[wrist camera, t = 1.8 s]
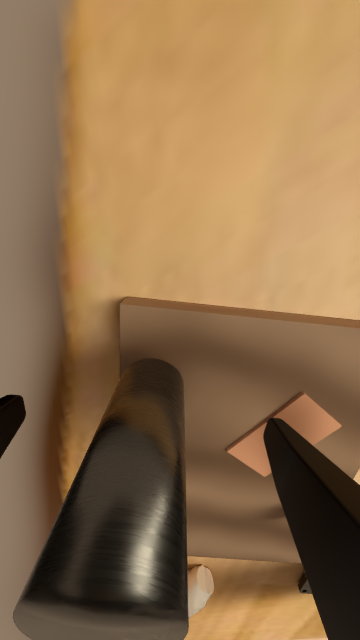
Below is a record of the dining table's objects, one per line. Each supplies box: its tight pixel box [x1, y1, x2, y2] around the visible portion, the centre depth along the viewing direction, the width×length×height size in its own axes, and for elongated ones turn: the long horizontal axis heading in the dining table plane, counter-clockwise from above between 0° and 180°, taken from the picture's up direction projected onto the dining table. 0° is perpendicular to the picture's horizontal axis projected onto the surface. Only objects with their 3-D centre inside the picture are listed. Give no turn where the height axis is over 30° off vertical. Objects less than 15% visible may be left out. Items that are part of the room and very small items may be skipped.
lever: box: [13, 358, 189, 640], centre depth 10 cm, size 19×4×8 cm, turn 174°
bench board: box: [120, 297, 360, 563], centre depth 13 cm, size 22×16×4 cm
